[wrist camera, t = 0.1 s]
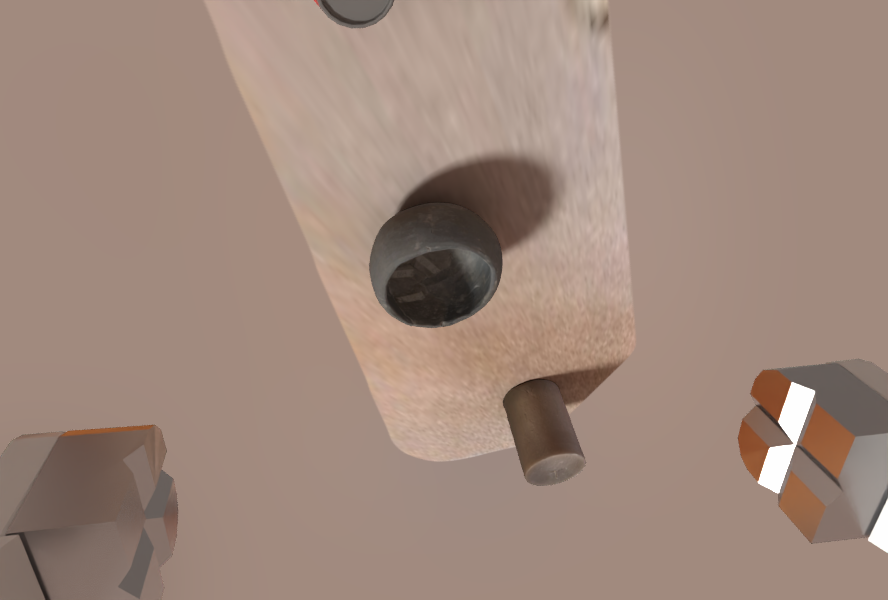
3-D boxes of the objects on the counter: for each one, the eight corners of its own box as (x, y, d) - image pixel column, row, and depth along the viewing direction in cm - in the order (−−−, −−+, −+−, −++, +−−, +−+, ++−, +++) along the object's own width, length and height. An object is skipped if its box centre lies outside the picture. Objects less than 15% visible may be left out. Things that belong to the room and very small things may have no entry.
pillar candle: (492, 409, 105) (515, 492, 95) (521, 375, 99) (548, 460, 89) (540, 415, 109) (566, 495, 99) (571, 382, 103) (602, 464, 93)
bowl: (485, 269, 81) (503, 327, 74) (369, 281, 79) (377, 342, 72) (494, 173, 70) (515, 230, 63) (360, 184, 68) (367, 245, 61)
